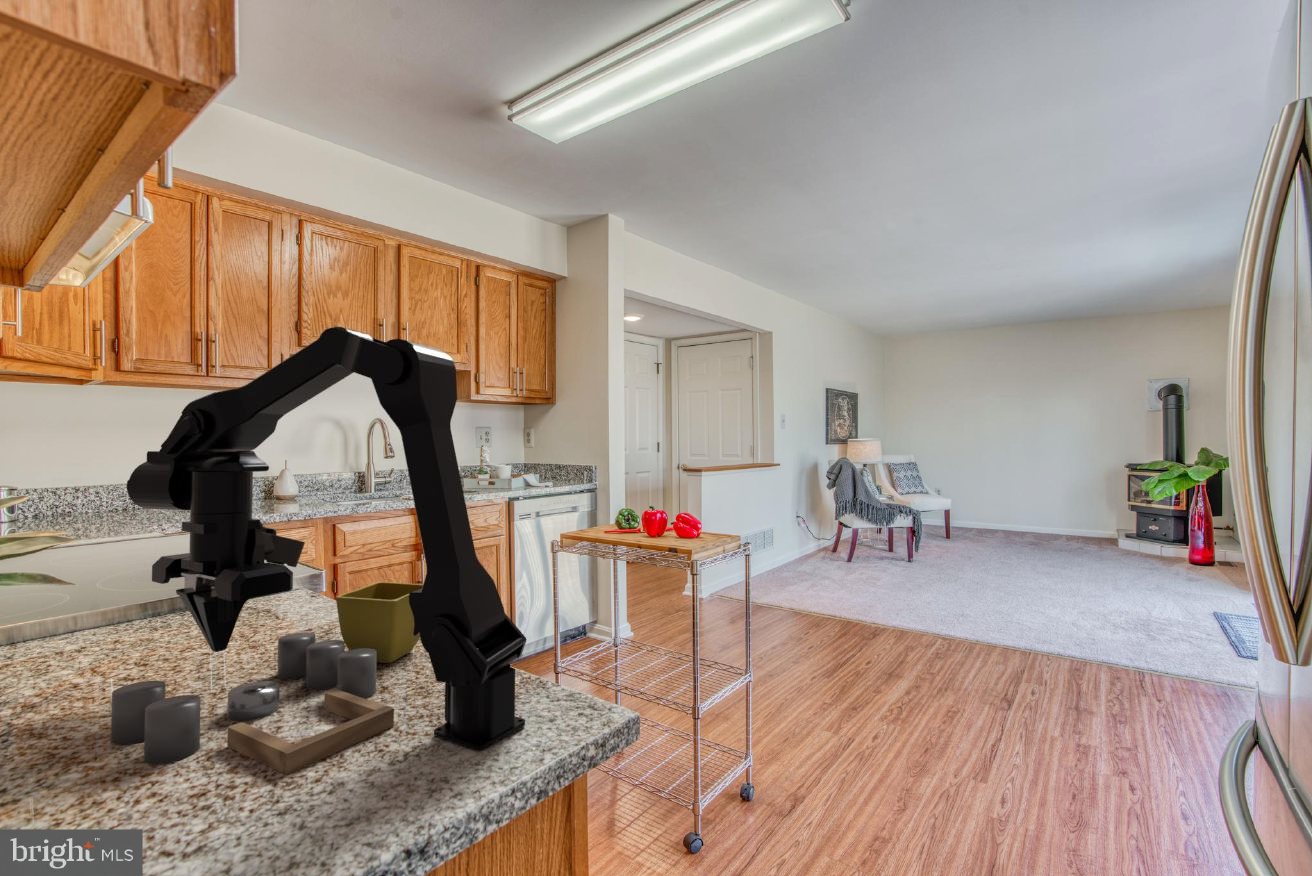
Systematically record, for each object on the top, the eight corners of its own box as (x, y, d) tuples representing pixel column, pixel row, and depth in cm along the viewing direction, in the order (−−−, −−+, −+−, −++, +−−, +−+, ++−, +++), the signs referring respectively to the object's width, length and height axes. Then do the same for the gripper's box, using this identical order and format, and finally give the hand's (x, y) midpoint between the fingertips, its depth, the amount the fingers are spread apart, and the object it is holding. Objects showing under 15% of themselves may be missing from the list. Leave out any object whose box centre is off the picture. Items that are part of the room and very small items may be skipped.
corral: (393, 726, 61) (393, 708, 61) (286, 774, 52) (287, 753, 52) (334, 705, 66) (335, 688, 66) (227, 746, 57) (227, 726, 57)
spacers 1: (208, 749, 56) (209, 700, 57) (156, 768, 53) (157, 716, 53) (153, 721, 62) (154, 677, 62) (103, 738, 58) (104, 691, 59)
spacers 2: (383, 691, 70) (384, 651, 70) (351, 703, 67) (352, 662, 67) (303, 665, 78) (303, 630, 78) (270, 675, 75) (271, 638, 75)
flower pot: (393, 671, 77) (394, 599, 77) (332, 665, 78) (333, 595, 78) (432, 648, 85) (433, 584, 85) (377, 644, 87) (378, 581, 87)
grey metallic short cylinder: (288, 709, 66) (288, 685, 66) (242, 726, 61) (242, 700, 62) (264, 700, 68) (264, 677, 68) (218, 716, 64) (218, 691, 64)
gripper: (339, 510, 71) (337, 644, 71) (253, 502, 80) (251, 621, 80) (235, 519, 61) (232, 675, 61) (151, 509, 71) (148, 644, 70)
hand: (219, 650), depth 68 cm, fingers closed
